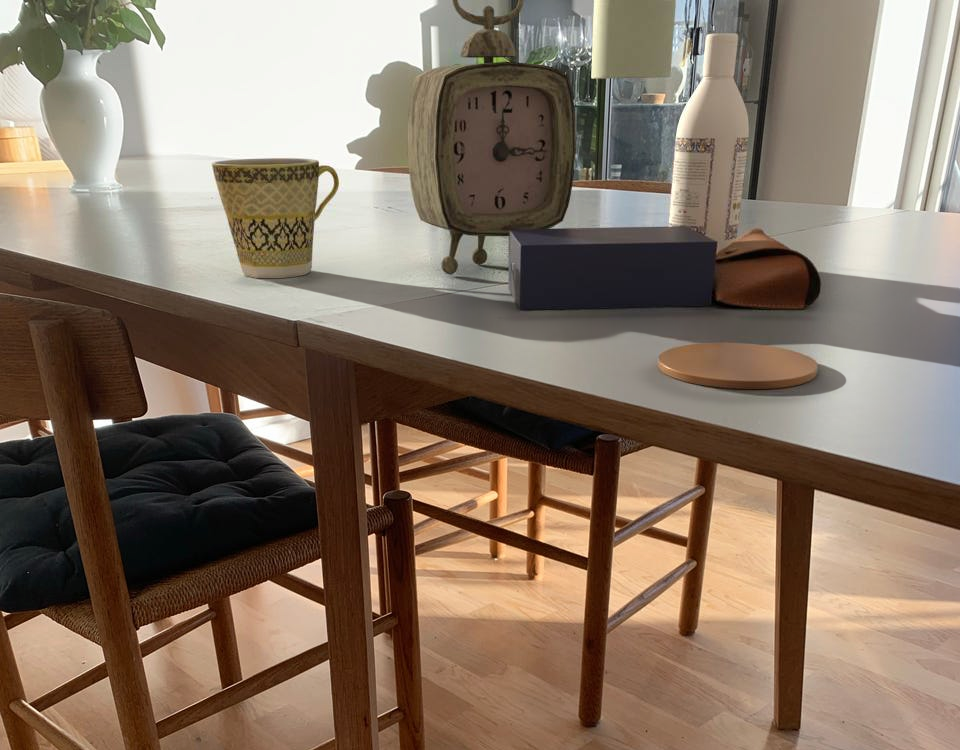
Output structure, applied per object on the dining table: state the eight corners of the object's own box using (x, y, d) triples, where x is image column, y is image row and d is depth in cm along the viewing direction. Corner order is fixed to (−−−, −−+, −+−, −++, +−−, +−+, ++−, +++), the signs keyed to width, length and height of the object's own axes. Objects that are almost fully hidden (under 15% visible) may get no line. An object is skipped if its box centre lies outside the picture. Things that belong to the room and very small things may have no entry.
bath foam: (718, 256, 101) (743, 36, 91) (744, 267, 95) (773, 32, 85) (656, 259, 100) (674, 36, 90) (678, 269, 94) (700, 32, 84)
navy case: (681, 284, 87) (687, 226, 85) (712, 306, 79) (719, 241, 76) (507, 288, 86) (507, 229, 84) (518, 310, 78) (519, 245, 75)
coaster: (784, 348, 66) (786, 340, 65) (842, 387, 57) (843, 378, 57) (643, 351, 65) (643, 344, 65) (679, 391, 57) (680, 383, 56)
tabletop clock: (438, 279, 90) (429, -40, 78) (405, 266, 98) (392, -29, 85) (571, 268, 96) (582, -34, 83) (530, 256, 103) (535, -23, 90)
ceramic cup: (259, 285, 89) (244, 166, 84) (208, 272, 95) (192, 161, 90) (371, 269, 96) (365, 159, 91) (318, 258, 102) (309, 155, 97)
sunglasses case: (679, 266, 92) (721, 202, 89) (736, 304, 94) (779, 242, 91) (716, 303, 77) (769, 226, 74) (784, 347, 79) (838, 274, 76)
